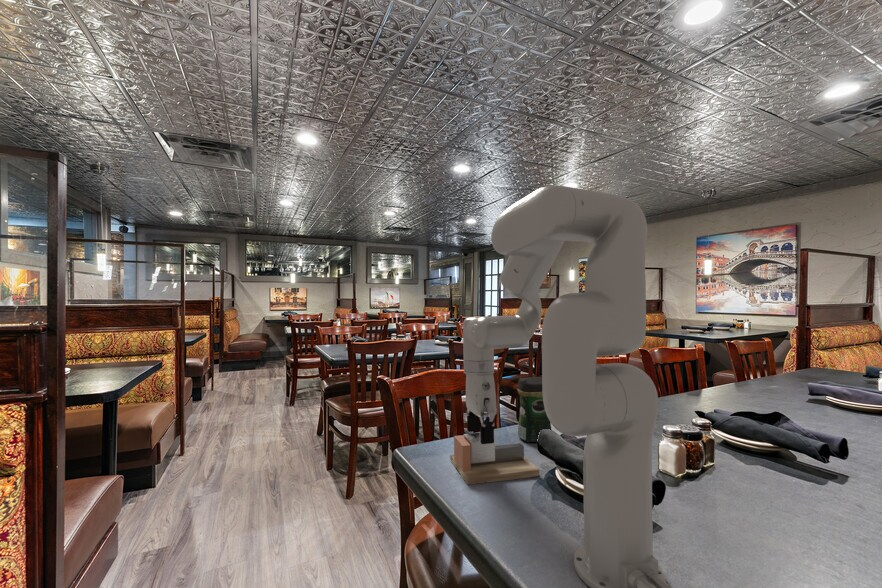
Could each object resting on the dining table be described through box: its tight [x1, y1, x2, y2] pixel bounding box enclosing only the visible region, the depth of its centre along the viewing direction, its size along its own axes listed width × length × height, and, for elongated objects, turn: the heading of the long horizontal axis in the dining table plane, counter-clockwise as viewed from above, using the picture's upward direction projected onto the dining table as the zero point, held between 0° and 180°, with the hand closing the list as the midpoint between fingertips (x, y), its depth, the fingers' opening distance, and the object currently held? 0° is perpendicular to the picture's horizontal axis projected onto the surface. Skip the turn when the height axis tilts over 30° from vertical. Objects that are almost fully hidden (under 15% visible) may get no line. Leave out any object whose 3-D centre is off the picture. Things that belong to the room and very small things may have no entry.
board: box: [449, 454, 540, 486], centre depth 96 cm, size 14×18×2 cm
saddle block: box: [463, 432, 496, 464], centre depth 95 cm, size 6×6×5 cm
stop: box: [453, 435, 471, 472], centre depth 94 cm, size 7×2×6 cm, turn 14°
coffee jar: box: [517, 376, 552, 443], centre depth 117 cm, size 10×8×19 cm
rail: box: [471, 443, 525, 466], centre depth 96 cm, size 2×15×4 cm, turn 105°
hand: (480, 436), depth 95 cm, fingers open, 9 cm apart
